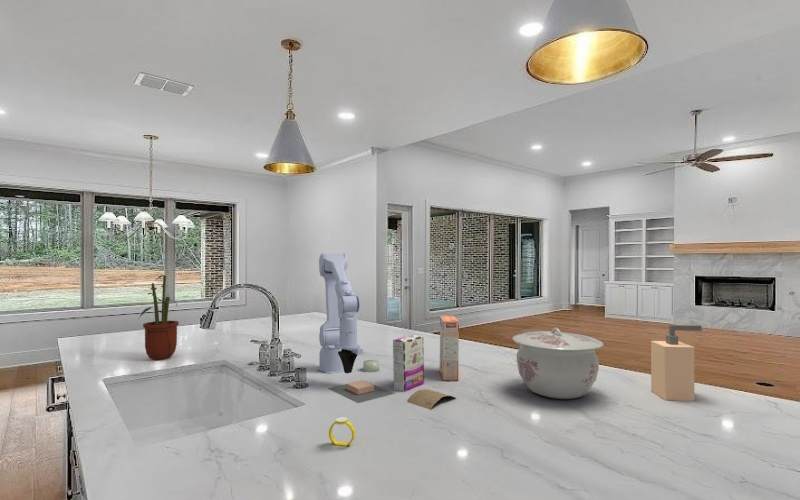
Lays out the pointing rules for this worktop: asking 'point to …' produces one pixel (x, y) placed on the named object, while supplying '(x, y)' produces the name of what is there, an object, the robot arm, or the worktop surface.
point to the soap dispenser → (673, 366)
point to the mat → (363, 397)
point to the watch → (341, 421)
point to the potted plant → (160, 329)
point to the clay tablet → (425, 398)
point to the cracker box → (449, 348)
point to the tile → (360, 387)
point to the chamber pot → (557, 363)
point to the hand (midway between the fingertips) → (348, 372)
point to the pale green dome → (371, 366)
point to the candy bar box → (408, 362)
